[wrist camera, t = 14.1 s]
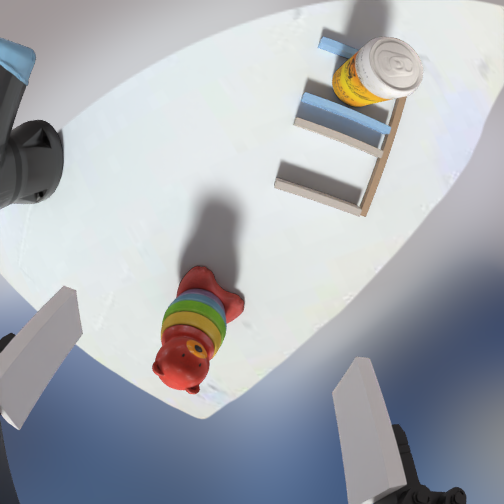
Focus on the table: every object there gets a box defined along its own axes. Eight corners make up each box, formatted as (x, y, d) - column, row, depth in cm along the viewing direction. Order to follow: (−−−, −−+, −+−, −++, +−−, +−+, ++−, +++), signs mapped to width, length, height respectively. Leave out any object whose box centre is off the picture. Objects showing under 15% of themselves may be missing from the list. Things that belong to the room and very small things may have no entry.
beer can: (327, 65, 30) (359, 30, 17) (370, 66, 30) (419, 38, 16) (334, 107, 33) (371, 94, 19) (376, 107, 32) (431, 98, 18)
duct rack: (274, 184, 38) (274, 187, 35) (319, 41, 29) (322, 36, 27) (363, 214, 38) (368, 220, 36) (408, 80, 30) (415, 78, 27)
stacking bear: (250, 304, 46) (238, 390, 29) (209, 335, 49) (186, 415, 33) (200, 260, 43) (161, 335, 27) (162, 296, 46) (120, 370, 30)
